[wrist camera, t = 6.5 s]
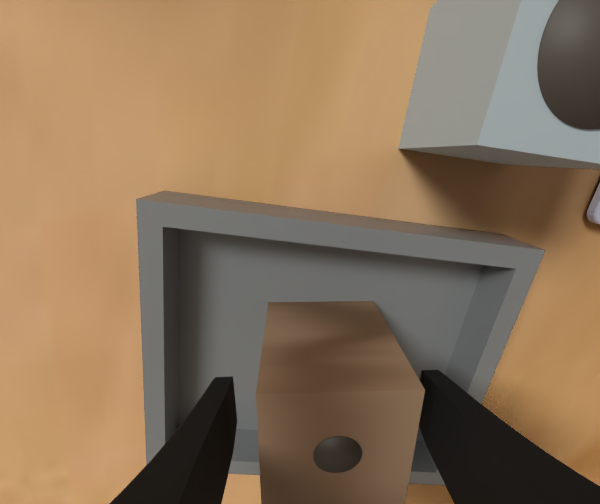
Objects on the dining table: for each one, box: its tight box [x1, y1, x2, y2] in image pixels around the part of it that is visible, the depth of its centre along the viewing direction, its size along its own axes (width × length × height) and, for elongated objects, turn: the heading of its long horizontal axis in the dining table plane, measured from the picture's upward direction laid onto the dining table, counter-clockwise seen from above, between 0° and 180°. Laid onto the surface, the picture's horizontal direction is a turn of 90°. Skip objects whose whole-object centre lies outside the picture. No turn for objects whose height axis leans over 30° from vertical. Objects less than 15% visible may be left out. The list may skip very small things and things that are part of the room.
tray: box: [136, 191, 545, 486], centre depth 13 cm, size 14×12×2 cm
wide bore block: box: [398, 0, 600, 170], centre depth 8 cm, size 4×4×5 cm
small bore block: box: [256, 301, 425, 504], centre depth 11 cm, size 4×4×5 cm
